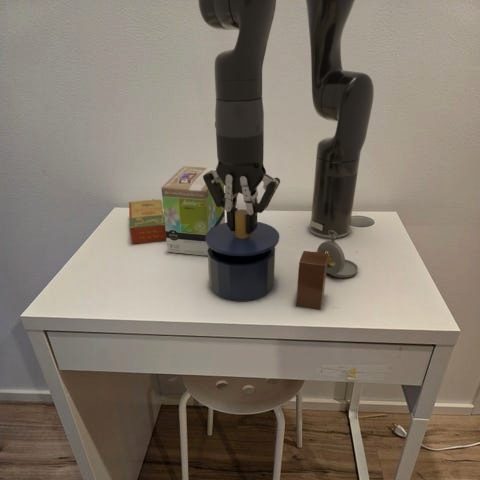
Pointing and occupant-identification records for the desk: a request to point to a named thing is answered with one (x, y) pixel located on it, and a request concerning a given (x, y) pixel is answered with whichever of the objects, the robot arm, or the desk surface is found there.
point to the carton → (146, 221)
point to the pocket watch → (337, 259)
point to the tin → (241, 275)
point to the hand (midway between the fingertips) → (242, 230)
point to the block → (311, 279)
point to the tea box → (189, 211)
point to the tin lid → (242, 237)
